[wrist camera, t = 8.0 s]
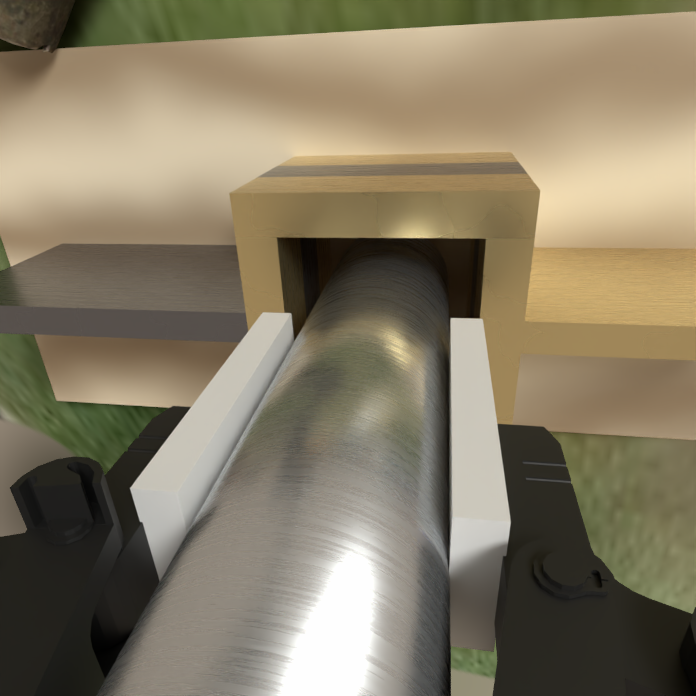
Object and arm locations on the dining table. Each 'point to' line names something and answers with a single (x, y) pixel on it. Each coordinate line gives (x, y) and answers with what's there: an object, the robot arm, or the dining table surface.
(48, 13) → the branch with fungus
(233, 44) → the mounting board
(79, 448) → the dining table surface
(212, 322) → the hinge
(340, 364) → the hinge pin
